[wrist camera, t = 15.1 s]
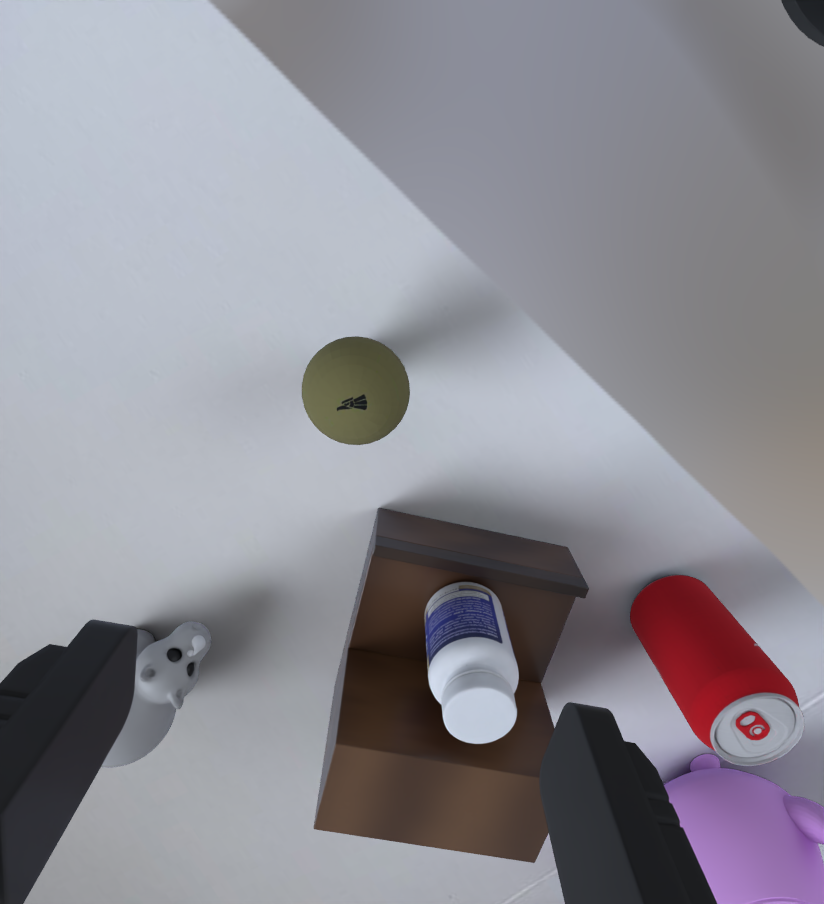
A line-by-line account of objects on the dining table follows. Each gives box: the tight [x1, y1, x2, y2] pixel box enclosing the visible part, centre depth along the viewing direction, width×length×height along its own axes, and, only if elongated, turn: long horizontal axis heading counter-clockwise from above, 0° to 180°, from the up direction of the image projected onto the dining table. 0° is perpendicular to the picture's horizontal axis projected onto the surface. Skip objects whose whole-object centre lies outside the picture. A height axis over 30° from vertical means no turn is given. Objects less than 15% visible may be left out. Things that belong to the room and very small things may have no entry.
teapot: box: [664, 754, 824, 904], centre depth 46 cm, size 20×14×12 cm
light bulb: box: [302, 337, 410, 445], centre depth 32 cm, size 6×6×10 cm
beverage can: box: [630, 575, 805, 766], centre depth 38 cm, size 6×6×12 cm
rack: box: [314, 508, 589, 863], centre depth 39 cm, size 14×16×12 cm
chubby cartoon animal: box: [101, 622, 212, 768], centre depth 41 cm, size 7×12×8 cm, turn 129°
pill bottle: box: [425, 582, 519, 744], centre depth 35 cm, size 5×5×9 cm
